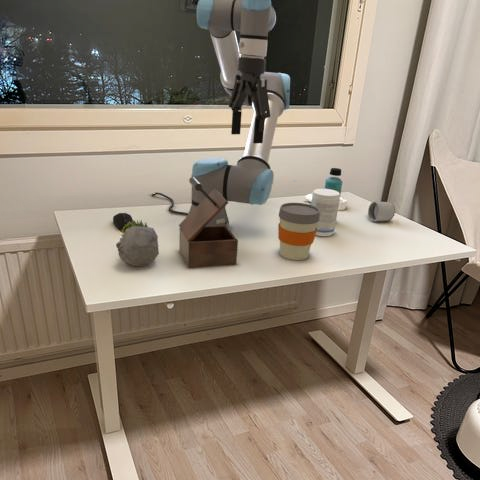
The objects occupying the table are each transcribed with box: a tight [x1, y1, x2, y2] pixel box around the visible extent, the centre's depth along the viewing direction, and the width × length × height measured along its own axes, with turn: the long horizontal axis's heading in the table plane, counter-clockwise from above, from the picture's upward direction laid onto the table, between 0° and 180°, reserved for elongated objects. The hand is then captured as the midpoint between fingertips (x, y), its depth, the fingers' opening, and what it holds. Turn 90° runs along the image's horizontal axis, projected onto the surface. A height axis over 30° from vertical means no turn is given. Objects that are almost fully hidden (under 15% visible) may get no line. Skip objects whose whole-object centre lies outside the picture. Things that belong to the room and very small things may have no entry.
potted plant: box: [115, 218, 160, 267], centre depth 137 cm, size 12×13×15 cm
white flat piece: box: [304, 192, 348, 211], centre depth 202 cm, size 3×18×15 cm
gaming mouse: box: [112, 212, 133, 231], centre depth 162 cm, size 6×15×4 cm, turn 22°
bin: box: [178, 225, 239, 269], centre depth 143 cm, size 15×13×8 cm
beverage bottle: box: [324, 167, 343, 201], centre depth 178 cm, size 6×7×20 cm
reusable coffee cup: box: [277, 202, 320, 261], centre depth 148 cm, size 13×12×15 cm
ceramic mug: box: [367, 200, 396, 222], centre depth 188 cm, size 11×8×8 cm
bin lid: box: [178, 176, 229, 242], centre depth 135 cm, size 15×13×9 cm
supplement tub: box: [310, 188, 341, 237], centre depth 168 cm, size 10×10×15 cm
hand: (246, 138), depth 141 cm, fingers open, 13 cm apart
